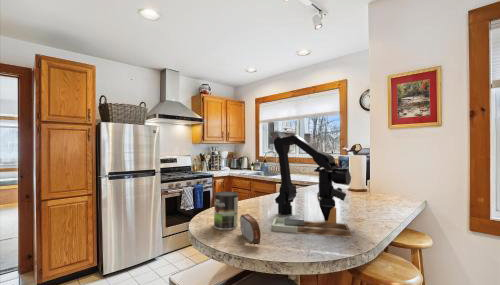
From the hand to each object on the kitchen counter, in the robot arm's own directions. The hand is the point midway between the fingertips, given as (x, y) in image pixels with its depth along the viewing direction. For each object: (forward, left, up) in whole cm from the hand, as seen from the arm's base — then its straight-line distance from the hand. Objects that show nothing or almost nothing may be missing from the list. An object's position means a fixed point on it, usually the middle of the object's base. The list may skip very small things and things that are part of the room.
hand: (325, 217), depth 105 cm
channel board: (-2, -10, -3) cm, 11 cm away
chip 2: (-11, -10, -2) cm, 15 cm away
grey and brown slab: (-29, -25, -3) cm, 38 cm away
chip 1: (-15, -10, -2) cm, 18 cm away
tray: (-17, -10, -3) cm, 20 cm away
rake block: (+2, 0, -3) cm, 4 cm away
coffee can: (-42, -13, -3) cm, 44 cm away
